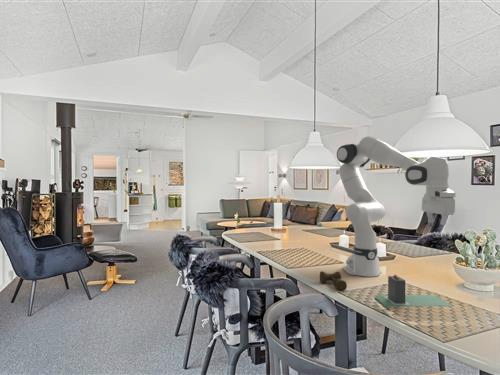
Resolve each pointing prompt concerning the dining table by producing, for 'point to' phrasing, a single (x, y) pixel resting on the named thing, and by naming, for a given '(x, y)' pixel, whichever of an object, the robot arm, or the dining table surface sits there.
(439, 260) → the dining table surface
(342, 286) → the kendama
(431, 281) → the dining table surface
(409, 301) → the board
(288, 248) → the dining table surface
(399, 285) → the block
